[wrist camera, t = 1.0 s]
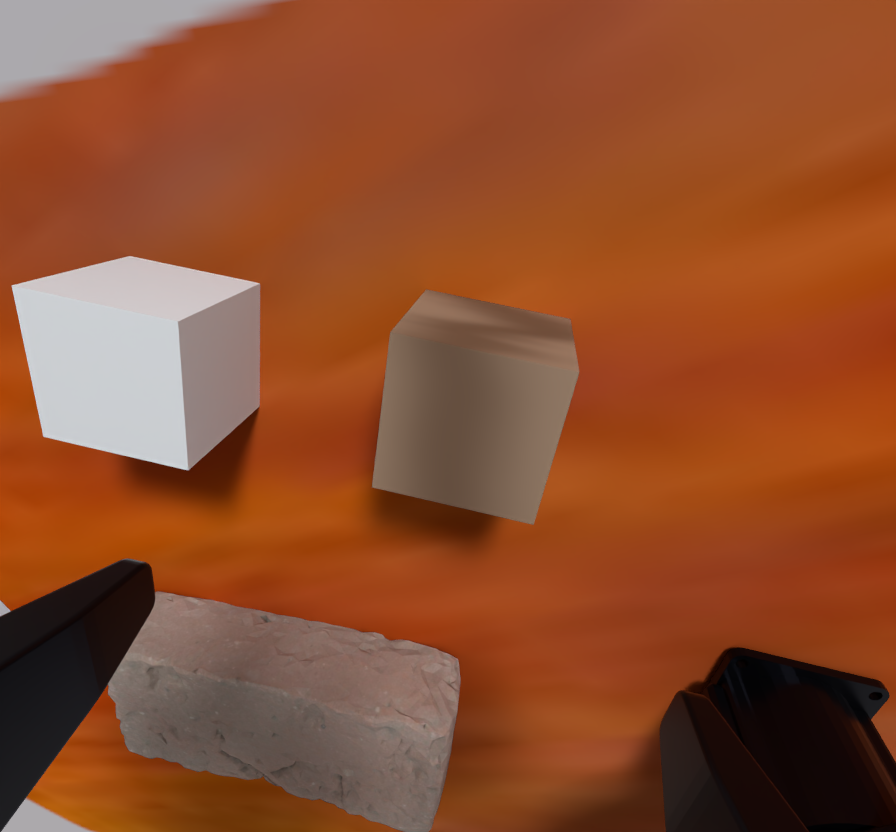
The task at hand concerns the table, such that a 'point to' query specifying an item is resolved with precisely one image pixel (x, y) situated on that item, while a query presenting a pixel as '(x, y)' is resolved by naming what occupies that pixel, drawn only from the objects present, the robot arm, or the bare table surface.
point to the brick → (292, 706)
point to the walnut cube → (474, 404)
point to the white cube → (142, 357)
